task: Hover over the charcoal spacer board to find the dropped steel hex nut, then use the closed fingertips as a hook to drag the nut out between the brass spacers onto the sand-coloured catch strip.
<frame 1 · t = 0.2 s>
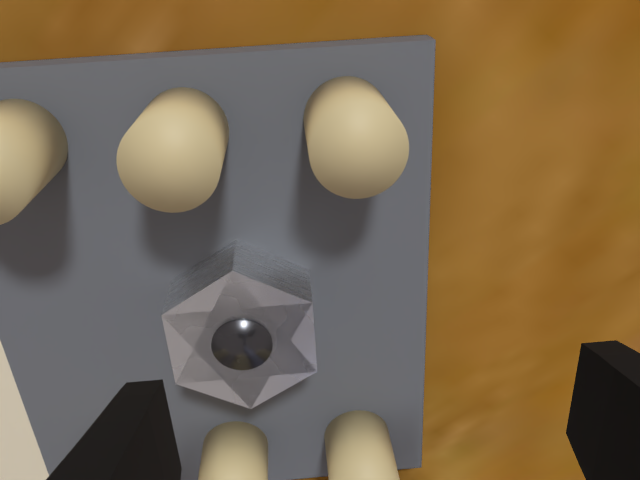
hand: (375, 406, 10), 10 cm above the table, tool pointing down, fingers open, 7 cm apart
spacer board: (98, 303, 20), on the table
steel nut: (245, 307, 19), point 1 cm above the table, touching spacer board
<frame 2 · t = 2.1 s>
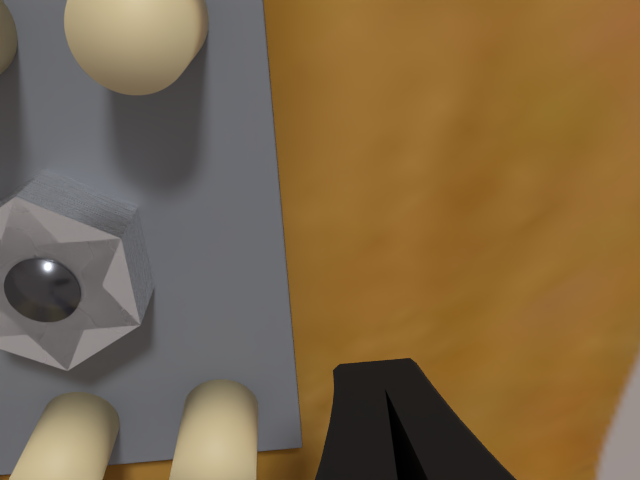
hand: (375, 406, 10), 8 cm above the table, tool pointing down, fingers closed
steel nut: (68, 253, 16), point 1 cm above the table, touching spacer board
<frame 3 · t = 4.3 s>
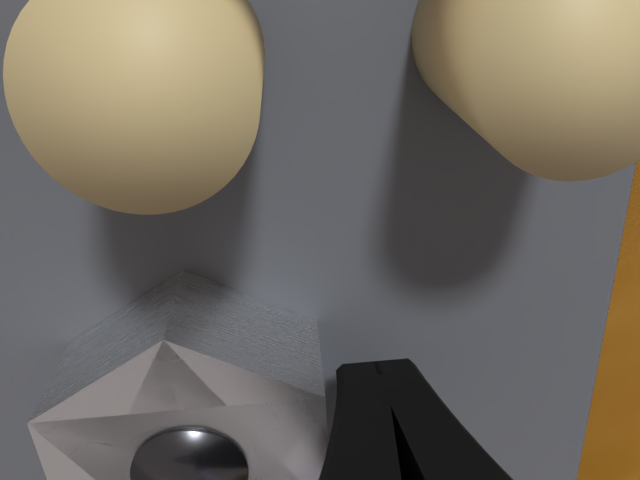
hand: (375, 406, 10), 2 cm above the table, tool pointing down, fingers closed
spacer board: (33, 370, 12), on the table
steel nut: (204, 386, 11), point 1 cm above the table, touching gripper
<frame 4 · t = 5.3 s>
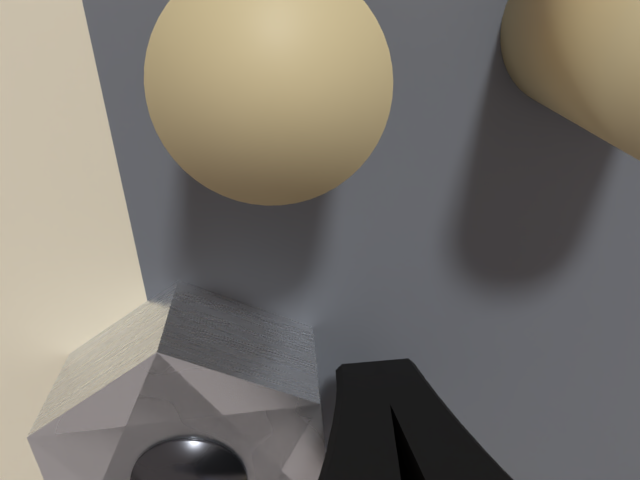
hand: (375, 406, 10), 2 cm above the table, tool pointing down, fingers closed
spacer board: (324, 345, 12), on the table
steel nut: (203, 395, 11), point 1 cm above the table, touching gripper
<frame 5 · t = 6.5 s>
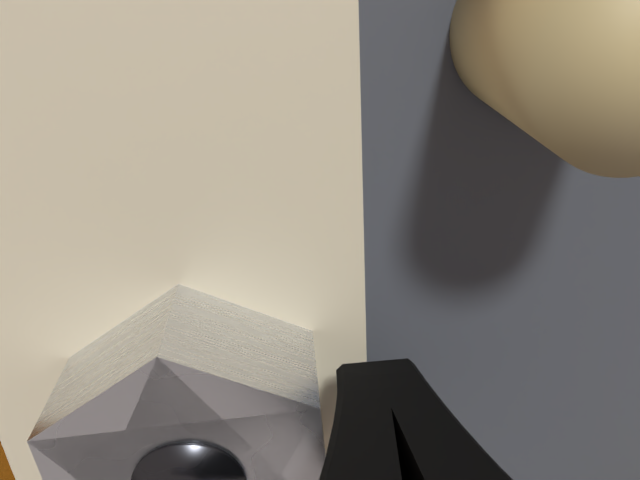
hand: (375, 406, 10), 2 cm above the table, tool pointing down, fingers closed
spacer board: (505, 329, 12), on the table
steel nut: (203, 398, 11), point 1 cm above the table, touching gripper, spacer board
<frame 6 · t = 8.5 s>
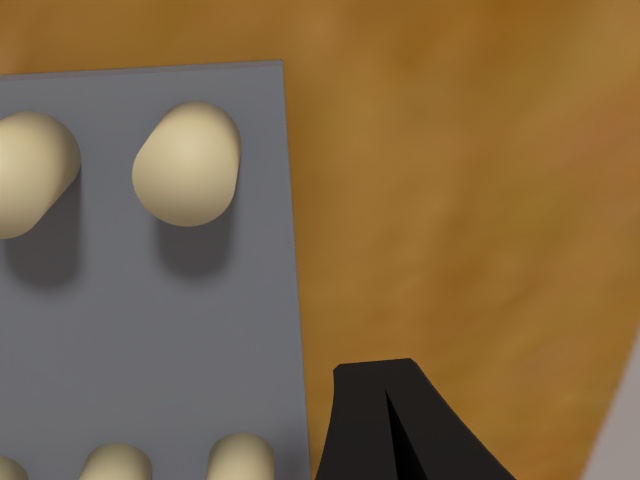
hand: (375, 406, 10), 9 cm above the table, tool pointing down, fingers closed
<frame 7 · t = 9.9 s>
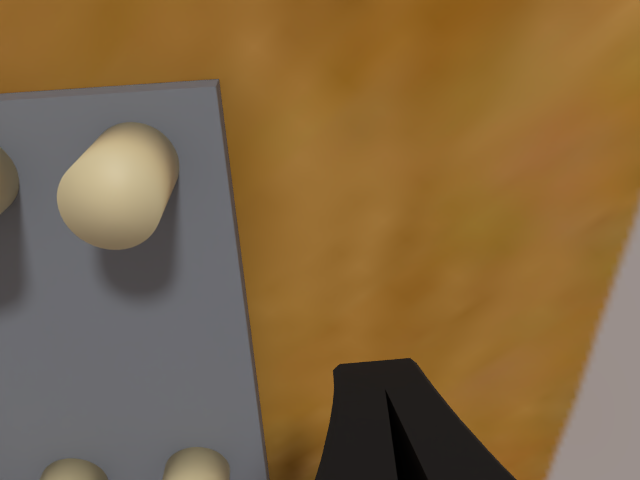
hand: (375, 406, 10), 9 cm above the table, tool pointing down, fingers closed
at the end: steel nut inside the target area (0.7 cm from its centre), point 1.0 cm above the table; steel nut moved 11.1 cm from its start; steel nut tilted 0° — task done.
